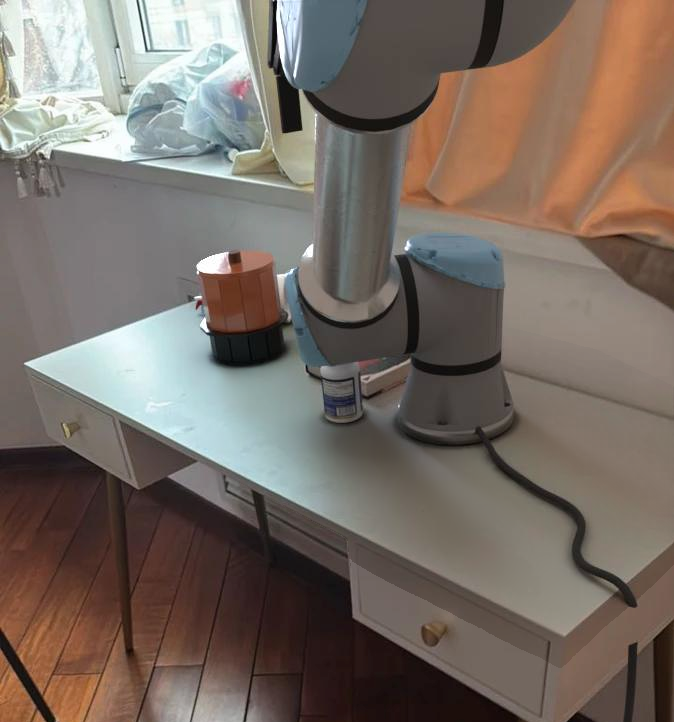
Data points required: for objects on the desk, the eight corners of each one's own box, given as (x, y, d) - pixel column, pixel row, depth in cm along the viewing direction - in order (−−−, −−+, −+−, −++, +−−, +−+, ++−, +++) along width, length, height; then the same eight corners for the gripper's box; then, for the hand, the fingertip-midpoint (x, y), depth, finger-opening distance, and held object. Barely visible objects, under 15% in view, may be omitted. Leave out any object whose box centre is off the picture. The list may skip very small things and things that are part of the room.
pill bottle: (339, 404, 122) (333, 337, 116) (370, 411, 119) (366, 343, 113) (317, 419, 118) (310, 351, 112) (349, 426, 116) (343, 357, 110)
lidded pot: (292, 321, 135) (283, 252, 128) (220, 338, 131) (208, 268, 125) (265, 301, 144) (256, 236, 137) (197, 316, 140) (185, 250, 134)
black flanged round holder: (304, 355, 138) (300, 321, 134) (222, 376, 134) (216, 342, 130) (273, 330, 148) (268, 298, 145) (196, 348, 144) (190, 316, 141)
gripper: (371, -84, 88) (382, 145, 101) (283, -69, 106) (301, 122, 119) (305, -78, 86) (325, 155, 98) (226, -64, 104) (251, 131, 117)
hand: (312, 138), depth 109 cm, fingers open, 13 cm apart
